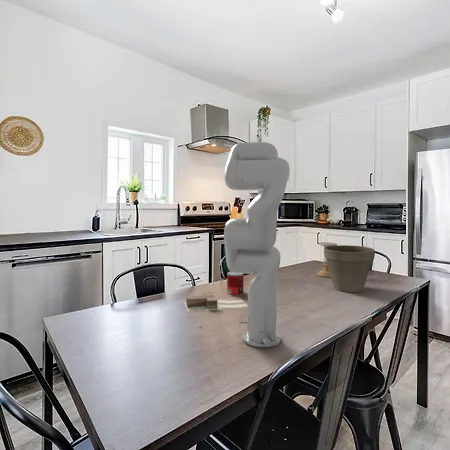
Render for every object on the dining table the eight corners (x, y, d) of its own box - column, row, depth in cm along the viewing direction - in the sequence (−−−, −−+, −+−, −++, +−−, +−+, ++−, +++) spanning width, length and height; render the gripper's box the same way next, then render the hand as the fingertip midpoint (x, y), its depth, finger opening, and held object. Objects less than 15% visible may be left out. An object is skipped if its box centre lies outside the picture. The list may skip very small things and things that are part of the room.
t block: (217, 308, 132) (217, 300, 131) (188, 310, 129) (188, 302, 129) (211, 299, 143) (211, 292, 143) (185, 301, 140) (185, 293, 140)
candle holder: (312, 274, 201) (313, 242, 200) (329, 272, 205) (330, 241, 203) (324, 278, 190) (325, 245, 188) (341, 277, 193) (343, 244, 192)
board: (249, 310, 134) (249, 307, 134) (187, 314, 128) (187, 312, 127) (239, 299, 147) (239, 297, 147) (183, 303, 141) (183, 301, 141)
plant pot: (324, 293, 159) (325, 250, 157) (321, 281, 183) (322, 244, 181) (378, 297, 153) (380, 252, 151) (368, 284, 177) (369, 245, 175)
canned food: (242, 297, 151) (242, 275, 150) (225, 296, 152) (225, 274, 151) (244, 293, 158) (244, 271, 157) (228, 292, 160) (228, 270, 159)
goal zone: (221, 312, 131) (221, 309, 131) (187, 314, 128) (187, 312, 127) (214, 301, 144) (214, 299, 144) (183, 303, 141) (183, 301, 141)
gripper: (282, 197, 126) (281, 243, 127) (268, 197, 140) (267, 239, 141) (264, 197, 124) (264, 243, 125) (252, 197, 138) (251, 239, 140)
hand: (266, 241), depth 133 cm, fingers closed
